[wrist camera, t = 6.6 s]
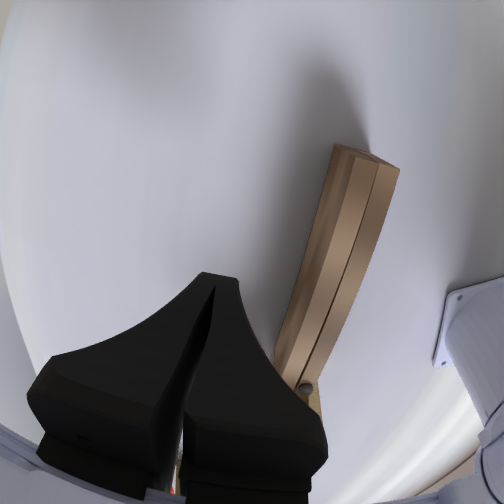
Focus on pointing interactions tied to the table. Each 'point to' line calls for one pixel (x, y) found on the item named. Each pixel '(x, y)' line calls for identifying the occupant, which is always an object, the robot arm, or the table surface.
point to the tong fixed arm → (350, 274)
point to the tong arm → (324, 257)
